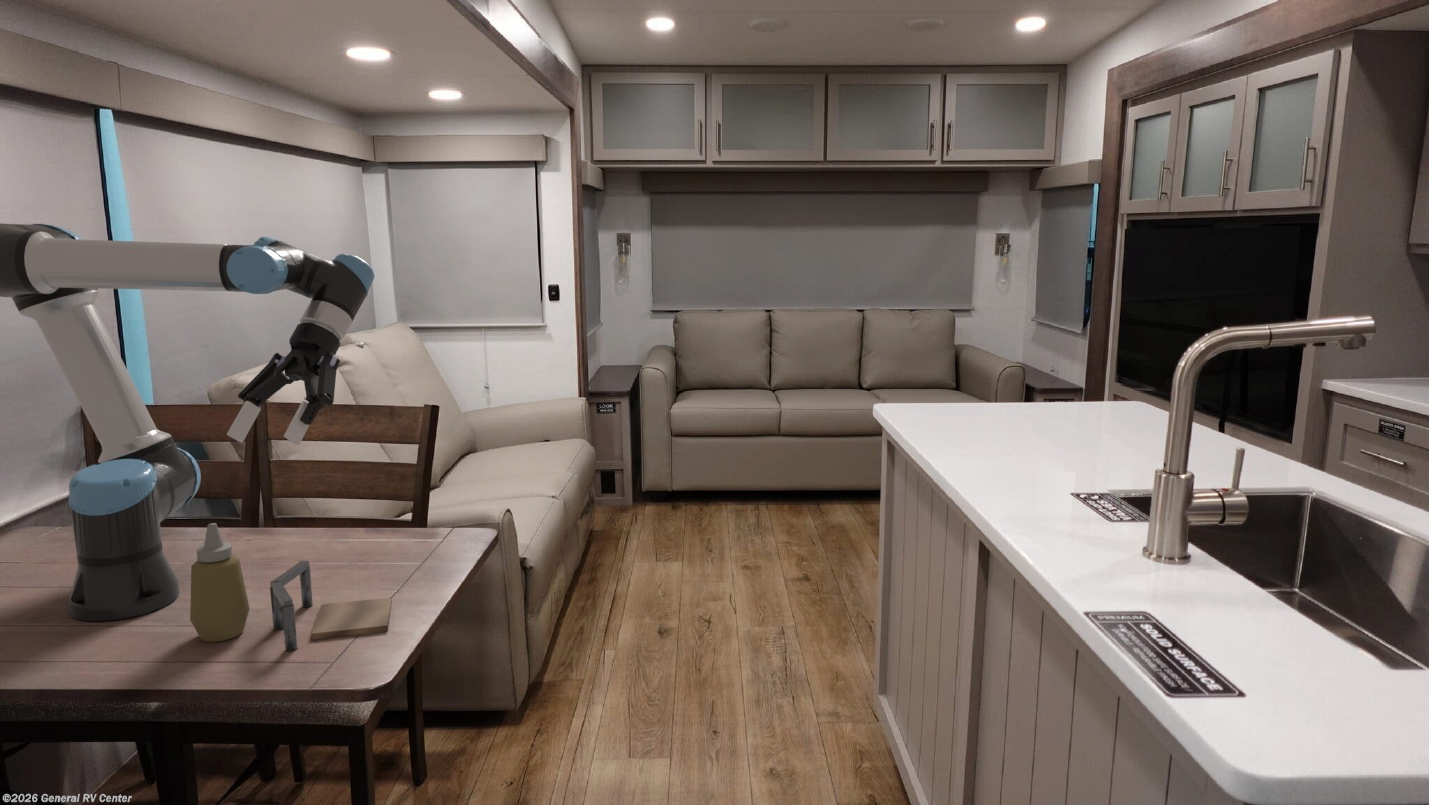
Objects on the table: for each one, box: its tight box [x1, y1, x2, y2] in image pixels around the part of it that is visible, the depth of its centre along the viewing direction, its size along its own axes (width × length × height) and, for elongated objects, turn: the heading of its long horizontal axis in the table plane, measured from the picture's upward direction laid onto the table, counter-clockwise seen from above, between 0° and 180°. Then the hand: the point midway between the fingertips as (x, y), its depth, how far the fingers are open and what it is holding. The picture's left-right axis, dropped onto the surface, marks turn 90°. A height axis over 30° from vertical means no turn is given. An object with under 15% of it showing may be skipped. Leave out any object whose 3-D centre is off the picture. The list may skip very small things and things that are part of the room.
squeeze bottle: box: [189, 522, 250, 643], centre depth 129 cm, size 8×8×18 cm
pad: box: [311, 597, 393, 641], centre depth 136 cm, size 11×11×1 cm
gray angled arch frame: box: [269, 560, 314, 653], centre depth 133 cm, size 5×18×8 cm, turn 18°
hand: (262, 439), depth 136 cm, fingers open, 13 cm apart
